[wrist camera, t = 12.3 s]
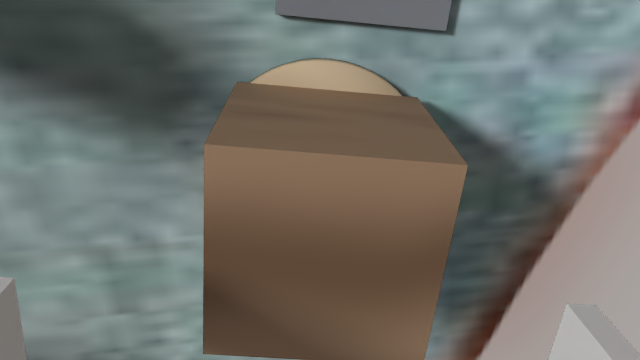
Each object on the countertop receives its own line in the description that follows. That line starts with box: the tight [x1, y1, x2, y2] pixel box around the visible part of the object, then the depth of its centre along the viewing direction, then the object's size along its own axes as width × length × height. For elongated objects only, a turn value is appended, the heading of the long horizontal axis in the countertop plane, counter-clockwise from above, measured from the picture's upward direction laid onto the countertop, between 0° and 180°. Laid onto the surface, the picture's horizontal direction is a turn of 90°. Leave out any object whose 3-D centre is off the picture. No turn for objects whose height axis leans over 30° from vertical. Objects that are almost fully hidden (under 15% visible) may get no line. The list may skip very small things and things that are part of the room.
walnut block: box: [203, 82, 468, 360], centre depth 18 cm, size 7×7×7 cm
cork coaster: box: [249, 58, 402, 96], centre depth 22 cm, size 9×9×1 cm
